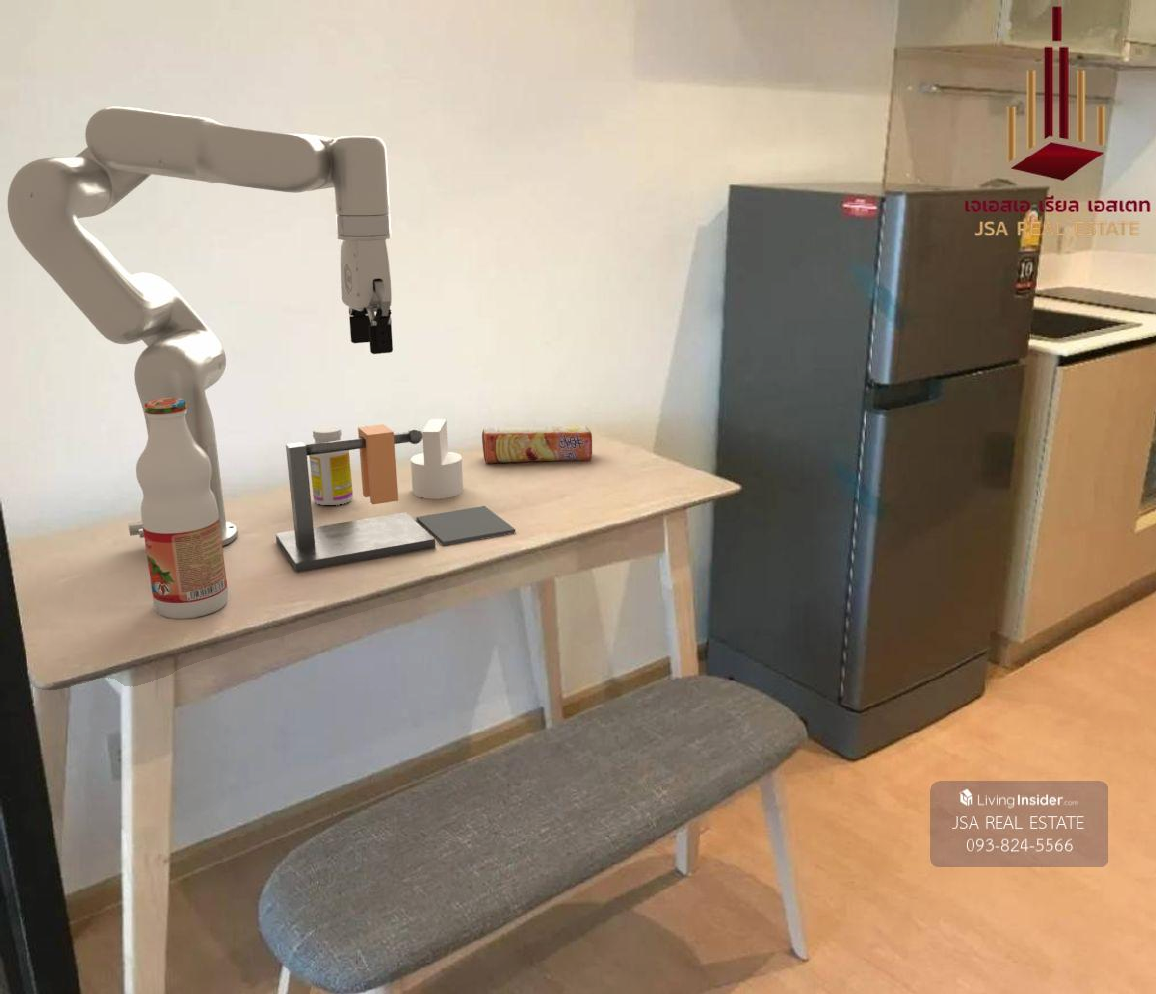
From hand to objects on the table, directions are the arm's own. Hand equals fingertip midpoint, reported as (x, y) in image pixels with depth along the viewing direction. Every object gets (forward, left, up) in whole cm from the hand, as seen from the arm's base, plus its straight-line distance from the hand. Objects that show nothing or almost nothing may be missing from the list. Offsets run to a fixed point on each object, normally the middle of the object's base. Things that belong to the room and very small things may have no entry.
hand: (371, 347), depth 156 cm
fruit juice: (-30, -12, -30) cm, 45 cm away
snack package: (+40, +30, -31) cm, 58 cm away
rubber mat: (+13, 0, -30) cm, 33 cm away
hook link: (0, 0, -23) cm, 23 cm away
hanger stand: (-4, 0, -30) cm, 30 cm away
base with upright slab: (+16, +20, -30) cm, 39 cm away
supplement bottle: (-2, +23, -30) cm, 38 cm away
